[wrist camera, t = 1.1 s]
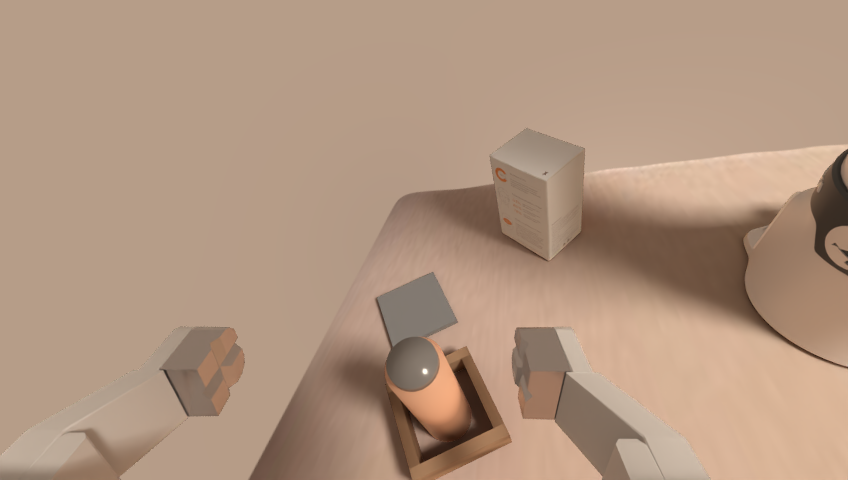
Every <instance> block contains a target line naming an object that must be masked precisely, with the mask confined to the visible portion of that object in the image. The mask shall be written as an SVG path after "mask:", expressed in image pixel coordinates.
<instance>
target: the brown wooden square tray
mask: <svg viewBox="0 0 848 480" xmlns="http://www.w3.org/2000/svg"><path fill="white" fill-rule="evenodd" d="M445 358H446V360H447V362H448V364H449V366H450V367H451V369H452V371H453V373H456V372H458V371H461V370H463V369H465V368H466V370H467V372H468V374H469V376H470V379H471V381H472V383H473V385H474V387H475V389H476V392H477V394H478V396H479V398H480V400H481V402H482V405H483V407H484V409H485V411H486V413H487V415H488V418H489V420H490V422H491V424H492V426H493V429H491V430H489V431H487V432H485V433H483V434H481V435H479V436H477V437H474V438H472V439H470V440H468V441H466V442H464V443H462V444H460V445H458V446H456V447H454V448H452V449H450V450H448V451H446V452H444V453H442V454H439V455H437V456H435V457H433V458H431V459H429V460H427V461H425V462H424V460H423V457H422V454H421V450H420V447H419V444H418V441H417V438H416V434H415V431H414V428H413V425H412V422H411V418H410V415H409V412H408V409H407V407H406V406H405V405H404V403H403V402H402V401H401V400H400V399H399V398H398V396H397V395H396V394H395V393H394V392H393V391H392V390H391V388H390V387H389V386H388V384H385V385H386V388H387V392H388V395H389V399H390V402H391V406H392V410H393V413H394V417H395V420H396V424H397V427H398V431H399V434H400V438H401V442H402V445H403V449H404V452H405V456H406V459H407V463H408V467H409V470H410V474H411V477H412V480H435V479H437V478H439V477H441V476H443V475H445V474H447V473H449V472H451V471H453V470H455V469H457V468H459V467H462V466H464V465H466V464H468V463H470V462H472V461H474V460H476V459H478V458H480V457H482V456H484V455H486V454H488V453H490V452H492V451H494V450H496V449H498V448H500V447H502V446H505V445H507V444H509V443H511V442H512V441H511V438H510V435H509V433H508V431H507V429H506V427H505V425H504V423H503V421H502V418H501V416H500V414H499V412H498V410H497V408H496V406H495V404H494V402H493V400H492V398H491V396H490V394H489V392H488V390H487V388H486V386H485V383H484V381H483V379H482V377H481V375H480V373H479V371H478V369H477V367H476V365H475V363H474V361H473V359H472V357H471V355H470V353H469V351H468V348H467V346H466V347H463V348H461V349H459V350H457V351H455V352H453V353H451V354H449V355H446V356H445Z"/></svg>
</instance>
